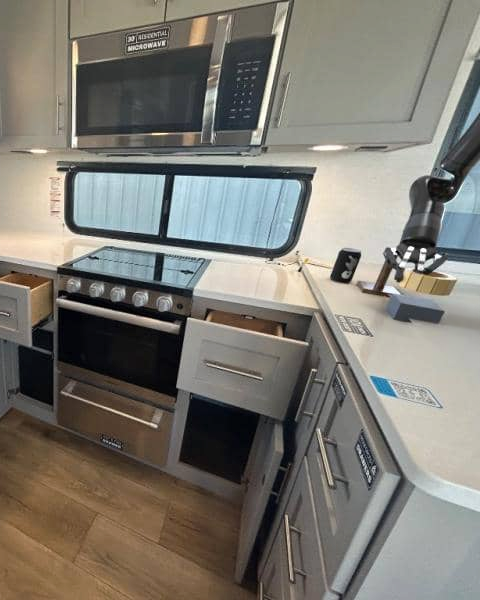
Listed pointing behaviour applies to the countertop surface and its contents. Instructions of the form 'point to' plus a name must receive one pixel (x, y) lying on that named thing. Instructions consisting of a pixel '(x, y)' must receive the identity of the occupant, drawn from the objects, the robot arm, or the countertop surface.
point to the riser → (414, 309)
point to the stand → (379, 283)
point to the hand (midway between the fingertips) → (405, 282)
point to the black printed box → (345, 265)
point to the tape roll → (428, 282)
